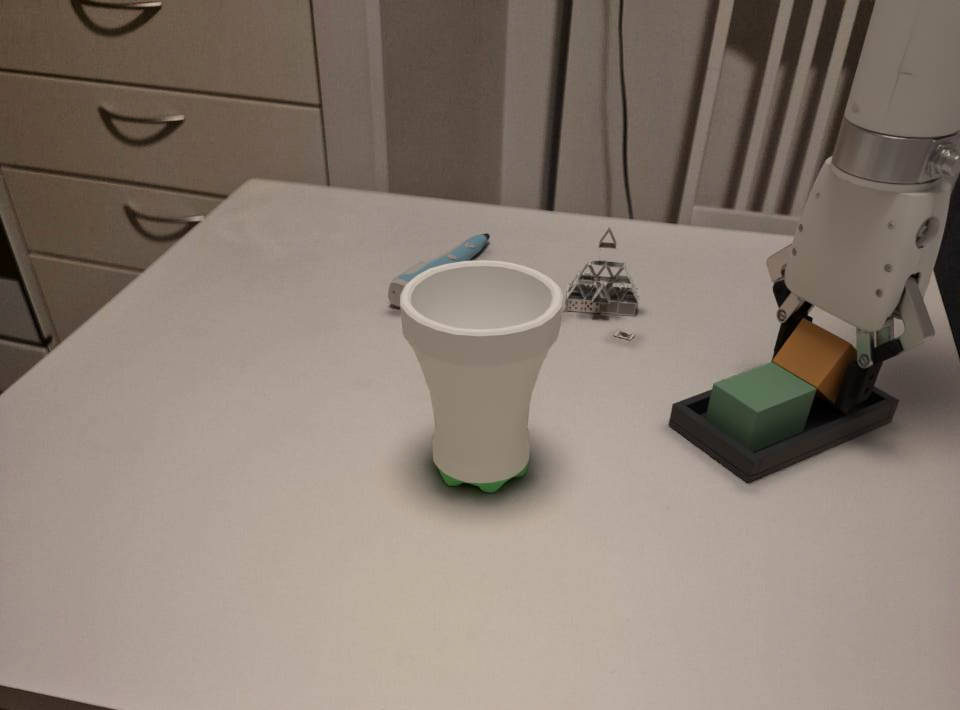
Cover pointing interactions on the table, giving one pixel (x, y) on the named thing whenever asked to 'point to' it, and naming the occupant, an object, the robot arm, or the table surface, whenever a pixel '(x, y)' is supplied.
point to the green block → (760, 406)
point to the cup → (481, 361)
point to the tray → (818, 435)
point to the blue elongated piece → (437, 264)
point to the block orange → (817, 359)
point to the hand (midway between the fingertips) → (817, 382)
